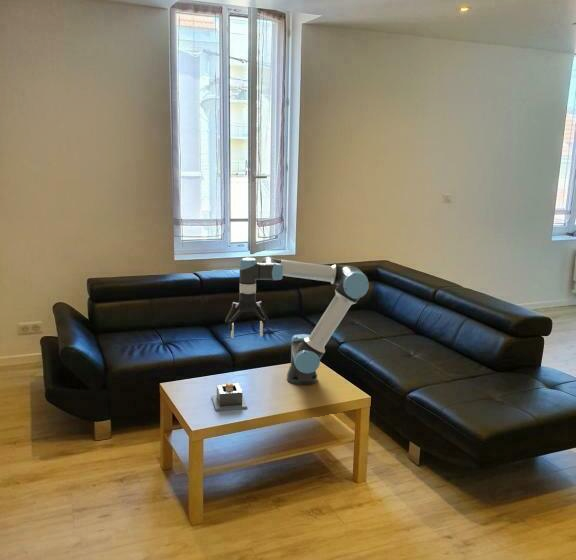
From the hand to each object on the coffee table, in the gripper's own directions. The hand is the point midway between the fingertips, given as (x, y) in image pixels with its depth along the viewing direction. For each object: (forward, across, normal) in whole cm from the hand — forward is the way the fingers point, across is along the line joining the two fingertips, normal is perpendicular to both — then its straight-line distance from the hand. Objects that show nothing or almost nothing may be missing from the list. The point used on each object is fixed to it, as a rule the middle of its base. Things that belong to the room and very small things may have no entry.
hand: (246, 336), depth 268 cm
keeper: (+27, +10, +13) cm, 31 cm away
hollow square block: (+26, +10, +13) cm, 30 cm away
